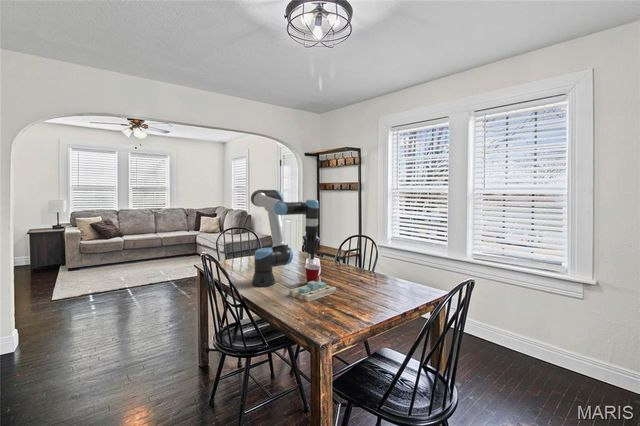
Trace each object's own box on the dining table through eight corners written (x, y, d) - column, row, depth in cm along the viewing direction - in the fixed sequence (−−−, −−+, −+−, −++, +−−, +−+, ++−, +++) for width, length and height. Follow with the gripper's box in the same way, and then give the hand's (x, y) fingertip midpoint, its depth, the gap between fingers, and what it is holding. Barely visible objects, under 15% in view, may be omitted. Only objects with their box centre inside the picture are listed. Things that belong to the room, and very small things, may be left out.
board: (289, 295, 189) (289, 290, 189) (316, 286, 207) (316, 282, 206) (308, 301, 178) (308, 296, 178) (335, 292, 196) (335, 287, 196)
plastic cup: (314, 287, 206) (314, 268, 205) (300, 284, 212) (301, 266, 212) (323, 283, 215) (323, 265, 214) (310, 280, 221) (310, 263, 220)
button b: (307, 288, 192) (307, 282, 192) (312, 287, 196) (312, 280, 195) (313, 290, 189) (313, 284, 189) (318, 288, 192) (318, 282, 192)
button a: (298, 294, 187) (298, 288, 187) (304, 293, 191) (304, 286, 190) (304, 296, 184) (304, 289, 184) (310, 294, 187) (310, 288, 187)
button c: (315, 289, 197) (315, 283, 197) (320, 288, 201) (320, 281, 201) (320, 291, 194) (321, 284, 194) (326, 289, 198) (326, 283, 197)
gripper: (299, 224, 192) (298, 263, 194) (315, 227, 183) (314, 267, 185) (308, 224, 198) (307, 261, 200) (324, 226, 189) (322, 265, 191)
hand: (310, 264), depth 193 cm, fingers closed
